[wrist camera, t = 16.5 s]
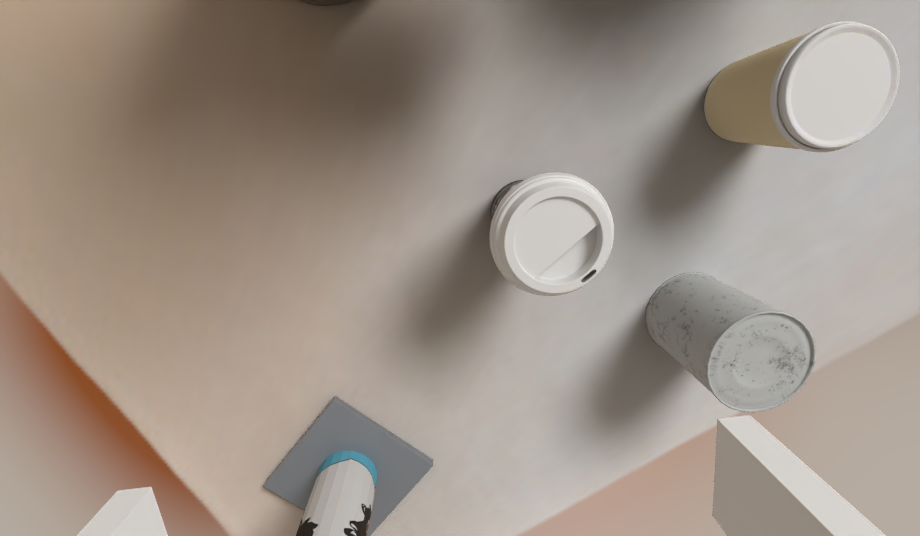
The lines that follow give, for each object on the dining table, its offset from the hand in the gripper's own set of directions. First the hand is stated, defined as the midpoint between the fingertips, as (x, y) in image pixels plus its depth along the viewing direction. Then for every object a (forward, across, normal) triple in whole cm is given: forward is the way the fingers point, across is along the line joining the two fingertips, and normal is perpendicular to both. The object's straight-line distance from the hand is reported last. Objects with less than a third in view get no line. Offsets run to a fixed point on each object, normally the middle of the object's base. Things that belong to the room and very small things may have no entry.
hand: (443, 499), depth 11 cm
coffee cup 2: (+39, +31, +9) cm, 51 cm away
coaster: (+38, -14, -28) cm, 50 cm away
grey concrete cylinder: (+39, +26, -13) cm, 49 cm away
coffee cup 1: (+39, +9, 0) cm, 40 cm away
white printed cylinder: (+37, -14, -28) cm, 49 cm away
